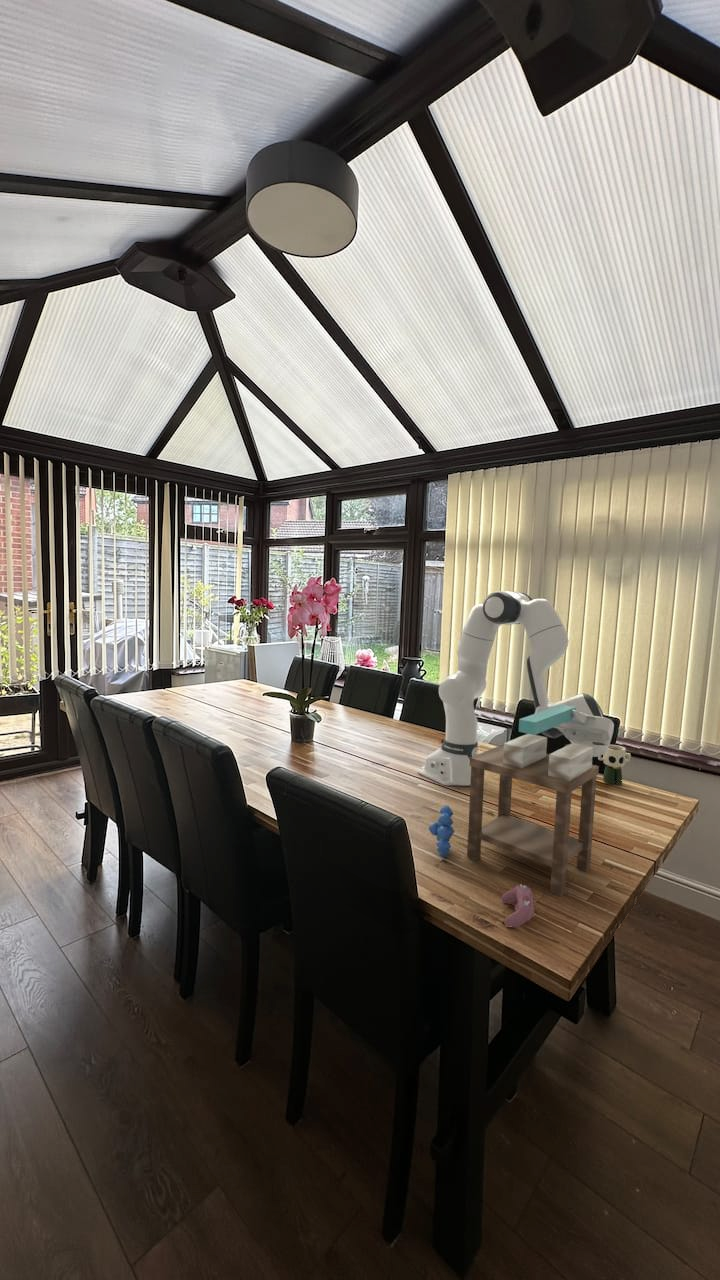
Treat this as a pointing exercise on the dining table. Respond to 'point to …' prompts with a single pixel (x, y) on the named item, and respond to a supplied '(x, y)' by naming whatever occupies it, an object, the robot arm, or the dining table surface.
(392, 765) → the dining table surface
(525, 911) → the video game controller
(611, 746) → the character mug
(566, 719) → the module bar
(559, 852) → the shelf
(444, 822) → the grapes
